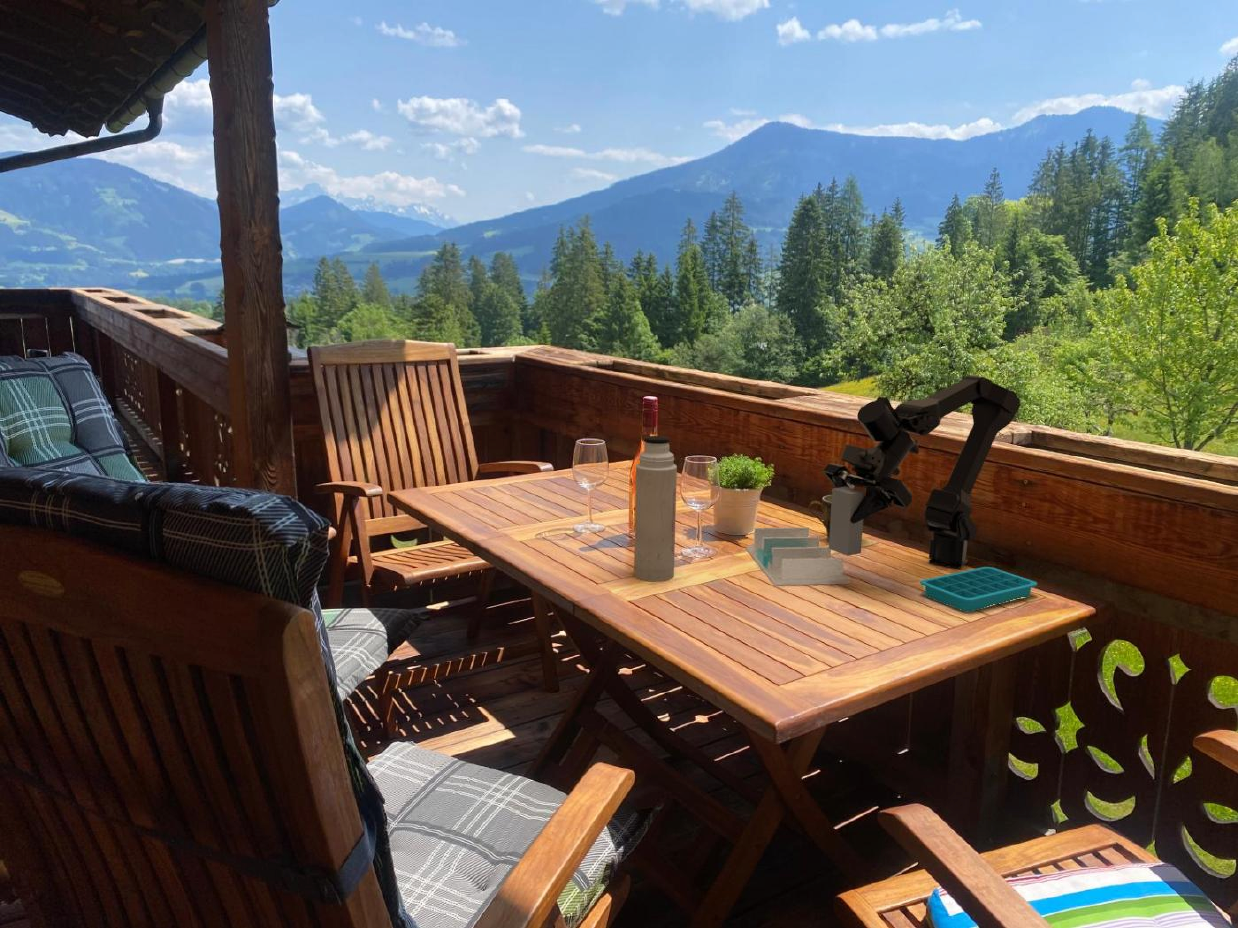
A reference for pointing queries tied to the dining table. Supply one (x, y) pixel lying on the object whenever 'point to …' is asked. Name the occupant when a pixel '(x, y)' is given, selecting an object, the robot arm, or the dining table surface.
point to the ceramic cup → (825, 512)
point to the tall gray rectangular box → (845, 521)
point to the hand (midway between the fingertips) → (841, 518)
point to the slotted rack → (795, 557)
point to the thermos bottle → (655, 511)
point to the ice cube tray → (977, 588)
